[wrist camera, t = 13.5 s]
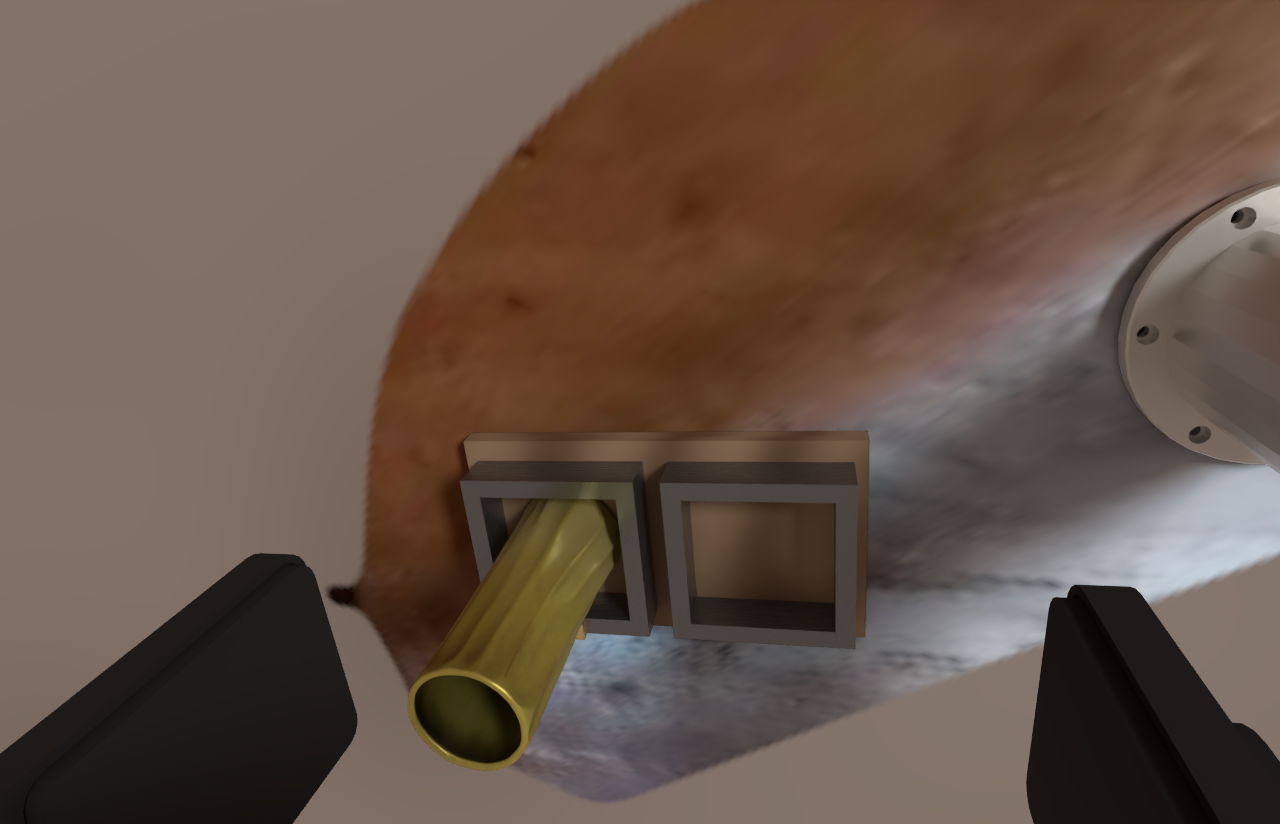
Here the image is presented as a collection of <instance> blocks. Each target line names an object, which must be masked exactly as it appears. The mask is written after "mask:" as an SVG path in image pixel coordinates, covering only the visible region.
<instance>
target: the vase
mask: <svg viewBox="0 0 1280 824" xmlns="http://www.w3.org/2000/svg"><path fill="white" fill-rule="evenodd" d="M621 552H622V548H621V540H620V532H619V525H618V523H617V521H616V520H615V518H614V517H613V515H612V514H611V513H610V511H609V510H608V508H607V507H606V506H604V505H603V504H602V503H601V502H600V501H598V500H597V499H543V498H535V499H533V500H532V501H531V502H530V503H529V504H528V505H527V507H526V509H525V511H524V513H523V515H522V518H521V520H520V521H519V523H518V525H517V526H516V528H515V530H514V531H513V533H512V535H511V536H510V538H509V539H508V541H507V542H506V544H505V545H504V547H503V549H502V550H501V552H500V554H499V555H498V557H497V558H496V560H495V562H494V563H493V565H492V566H491V568H490V570H489V571H488V573H487V574H486V576H485V577H484V579H483V580H482V582H481V583H480V585H479V586H478V588H477V589H476V591H475V592H474V594H473V595H472V597H471V598H470V600H469V602H468V603H467V605H466V606H465V608H464V609H463V611H462V613H461V614H460V616H459V617H458V619H457V620H456V622H455V624H454V625H453V627H452V628H451V630H450V631H449V633H448V634H447V636H446V637H445V639H444V640H443V642H442V643H441V644H440V646H439V647H438V649H437V650H436V652H435V653H434V655H433V656H432V658H431V659H430V660H429V662H428V663H427V665H426V666H425V668H424V669H423V670H422V672H421V673H420V675H419V676H418V678H417V679H416V681H415V682H414V684H413V686H412V688H411V690H410V692H409V696H408V714H409V718H410V720H411V723H412V725H413V727H414V729H415V730H416V732H417V733H418V735H419V736H420V737H421V738H422V740H423V741H424V742H425V743H426V744H427V745H428V746H429V747H430V748H431V749H432V750H433V751H435V752H436V753H437V754H439V755H440V756H441V757H443V758H444V759H446V760H447V761H449V762H452V763H454V764H456V765H459V766H462V767H466V768H470V769H475V770H482V771H492V770H499V769H502V768H505V767H507V766H510V765H511V764H513V763H514V762H515V761H516V760H517V759H518V758H519V757H520V756H521V755H522V754H523V752H524V751H525V749H526V748H527V747H528V745H529V743H530V741H531V739H532V737H533V736H534V733H535V731H536V729H537V726H538V724H539V721H540V719H541V717H542V714H543V712H544V710H545V708H546V705H547V703H548V701H549V698H550V696H551V694H552V691H553V689H554V687H555V685H556V682H557V680H558V678H559V676H560V674H561V671H562V669H563V667H564V665H565V662H566V660H567V658H568V656H569V653H570V651H571V649H572V646H573V644H574V641H575V639H576V636H577V633H578V631H579V629H580V627H581V625H582V623H583V621H584V619H585V617H586V615H587V613H588V611H589V609H590V607H591V606H592V603H593V601H594V599H595V597H596V595H597V593H598V591H599V589H600V588H601V586H602V585H603V583H604V581H605V580H606V578H607V576H608V575H609V573H610V571H611V570H612V569H613V568H614V566H615V565H616V564H617V562H618V561H619V559H620V556H621Z"/></svg>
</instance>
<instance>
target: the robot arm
mask: <svg viewBox="0 0 1280 824" xmlns="http://www.w3.org/2000/svg"><path fill="white" fill-rule="evenodd" d="M1236 211H1238V216H1237V218H1236V219H1235V220H1234V221H1231V218H1232V216H1233V214H1234V213H1235V212H1236ZM1143 326H1145V330H1144V332H1142V333H1141V334H1138V335H1136V334H1137V332H1138V330H1139V329H1141V328H1142V327H1143ZM1118 361H1119V365H1120V369H1121V373H1122V377H1123V381H1124V385H1125V386H1126V388H1127V390H1128V392H1129V394H1130V396H1131V398H1132V399H1133V401H1134V403H1135V405H1136V406H1137V407H1138V409H1139V410H1140V411H1141V412H1142V413H1143V414H1144V415H1145V416H1146V417H1147V419H1148V420H1149V421H1150V422H1151V423H1152V424H1153V425H1155V426H1156V427H1157V428H1158V429H1159V430H1161V431H1162V432H1163V433H1164V434H1165V435H1167V436H1168V437H1169V438H1170V439H1172V440H1174V441H1175V442H1177V443H1179V444H1180V445H1182V446H1184V447H1185V448H1187V449H1189V450H1192V451H1194V452H1197V453H1200V454H1203V455H1206V456H1209V457H1212V458H1215V459H1218V460H1224V461H1230V462H1236V463H1243V464H1267V465H1268V466H1270V467H1271V468H1273V469H1274V470H1275V471H1277V472H1278V473H1279V474H1280V178H1279V179H1274V180H1270V181H1266V182H1263V183H1261V184H1258V185H1256V186H1253V187H1251V188H1248V189H1246V190H1243V191H1241V192H1238V193H1236V194H1233V195H1231V196H1229V197H1228V198H1226V199H1224V200H1223V201H1221V202H1219V203H1217V204H1216V205H1214V206H1212V207H1210V208H1209V209H1207V210H1205V211H1203V212H1202V213H1200V214H1199V215H1198V216H1196V217H1195V218H1194V219H1193V220H1191V221H1190V222H1189V223H1188V224H1186V225H1185V226H1184V227H1183V228H1181V229H1180V230H1179V231H1178V232H1176V233H1175V234H1174V235H1173V236H1172V237H1171V238H1170V239H1169V240H1168V241H1167V242H1166V243H1165V245H1164V246H1163V247H1162V248H1161V249H1160V250H1159V251H1158V252H1157V253H1156V254H1155V255H1154V256H1153V257H1152V259H1151V260H1150V262H1149V263H1148V265H1147V266H1146V268H1145V269H1144V271H1143V272H1142V274H1141V275H1140V277H1139V278H1138V280H1137V281H1136V283H1135V284H1134V287H1133V289H1132V291H1131V294H1130V296H1129V298H1128V301H1127V303H1126V306H1125V308H1124V310H1123V315H1122V320H1121V325H1120V329H1119V334H1118ZM1193 428H1195V429H1194V430H1192V429H1193ZM1191 430H1192V431H1191ZM356 728H357V713H356V709H355V706H354V703H353V700H352V697H351V693H350V690H349V686H348V683H347V680H346V677H345V673H344V670H343V667H342V663H341V660H340V657H339V653H338V650H337V647H336V644H335V640H334V637H333V634H332V631H331V627H330V624H329V621H328V617H327V614H326V611H325V607H324V604H323V601H322V598H321V594H320V591H319V588H318V584H317V581H316V578H315V575H314V573H313V571H312V570H311V569H310V568H309V567H307V566H306V565H305V563H304V561H303V560H302V559H301V558H300V557H299V556H296V555H289V554H288V555H287V554H262V553H260V554H253V555H252V556H250V557H248V558H246V559H245V560H244V561H243V562H242V563H240V564H239V565H238V566H236V567H235V568H234V569H233V570H231V571H230V572H229V573H228V574H226V575H225V576H224V577H222V578H221V579H220V580H219V581H217V582H216V583H215V584H214V585H212V586H211V587H210V588H209V589H207V590H206V591H205V592H204V593H202V594H201V595H200V596H199V597H197V598H196V599H195V600H193V601H192V602H191V603H190V604H188V605H187V606H186V607H185V608H183V609H182V610H181V611H180V612H178V613H177V614H176V615H175V616H173V617H172V618H171V619H170V620H168V621H167V622H166V623H164V624H163V625H162V626H161V627H159V628H158V629H157V630H156V631H154V632H153V633H152V634H151V635H149V636H148V637H147V638H146V639H144V640H143V641H142V642H141V643H139V644H138V645H137V646H136V647H134V648H133V649H132V650H131V651H129V652H128V653H127V654H125V655H124V656H123V657H122V658H120V659H119V660H118V661H117V662H115V663H114V664H113V665H111V666H110V667H109V668H108V669H106V670H105V671H104V672H103V673H101V674H100V675H99V676H98V677H97V678H95V679H94V680H93V681H91V682H90V683H89V684H88V685H86V686H85V687H84V688H82V689H81V690H80V691H79V692H77V693H76V694H75V695H74V696H72V697H71V698H70V699H69V700H67V701H66V702H65V703H64V704H62V705H61V706H60V707H59V708H57V709H56V710H55V711H54V712H52V713H51V714H50V715H48V716H47V717H46V718H45V719H44V720H42V721H41V722H40V723H38V724H37V725H36V726H35V727H33V728H32V729H31V730H30V731H28V732H27V733H26V734H25V735H23V736H22V737H21V738H20V739H18V740H17V741H16V742H14V743H13V744H12V745H11V746H9V747H8V748H7V749H6V750H4V751H3V752H2V753H1V754H0V824H293V822H294V821H295V820H296V818H297V817H298V816H299V814H300V813H301V811H302V810H303V809H304V807H305V806H306V804H307V803H308V802H309V800H310V799H311V797H312V796H313V795H314V793H315V792H316V791H317V789H318V788H319V787H320V785H321V784H322V782H323V781H324V780H325V778H326V777H327V775H328V774H329V773H330V771H331V770H332V769H333V767H334V766H335V764H336V763H337V761H338V760H339V759H340V757H341V756H342V755H343V753H344V752H345V751H346V749H347V748H348V746H349V745H350V743H351V742H352V740H353V737H354V735H355V733H356ZM1026 784H1027V797H1028V804H1029V809H1030V813H1031V816H1032V819H1033V822H1034V824H1280V761H1279V760H1278V759H1277V757H1276V756H1275V755H1274V753H1273V752H1272V751H1271V750H1270V748H1269V747H1268V745H1267V744H1266V743H1265V742H1264V741H1263V740H1262V739H1261V738H1260V736H1259V735H1258V734H1257V733H1256V732H1255V731H1254V730H1252V729H1250V728H1249V727H1247V726H1245V725H1243V724H1242V723H1232V722H1231V721H1230V719H1229V718H1228V717H1227V715H1226V714H1225V712H1224V711H1223V709H1222V708H1221V707H1220V705H1219V704H1218V702H1217V701H1216V700H1215V698H1214V697H1213V695H1212V694H1211V693H1210V691H1209V690H1208V688H1207V687H1206V685H1205V684H1204V683H1203V681H1202V680H1201V678H1200V677H1199V675H1198V674H1197V673H1196V671H1195V670H1194V668H1193V667H1192V666H1191V664H1190V663H1189V661H1188V660H1187V658H1186V657H1185V656H1184V654H1183V653H1182V652H1181V650H1180V649H1179V647H1178V646H1177V645H1176V643H1175V642H1174V640H1173V639H1172V637H1171V636H1170V634H1169V633H1168V632H1167V630H1166V629H1165V627H1164V626H1163V625H1162V623H1161V622H1160V620H1159V619H1158V618H1157V616H1156V615H1155V613H1154V612H1153V610H1152V609H1151V608H1150V606H1149V605H1148V603H1147V602H1146V601H1145V599H1144V598H1143V596H1142V595H1141V594H1140V593H1139V592H1138V591H1137V590H1136V589H1135V588H1132V587H1121V586H1095V585H1074V586H1072V587H1071V588H1070V590H1069V592H1068V596H1067V598H1058V597H1055V598H1053V599H1052V601H1051V603H1050V607H1049V612H1048V620H1047V627H1046V635H1045V643H1044V651H1043V658H1042V666H1041V673H1040V681H1039V688H1038V695H1037V703H1036V710H1035V718H1034V726H1033V733H1032V741H1031V748H1030V756H1029V763H1028V771H1027V782H1026Z"/></svg>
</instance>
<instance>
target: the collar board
mask: <svg viewBox="0 0 1280 824" xmlns="http://www.w3.org/2000/svg"><path fill="white" fill-rule="evenodd" d="M463 442H464V447H465V452H466V457H467V462H468V467H469V470H470V469H471V468H472V467H473V466H474V465H475V464H476V463H477V462H478V461H643V471H644V481H645V490H646V500H647V510H648V520H649V529H650V539H651V549H652V558H653V568H654V578H655V587H656V597H657V607H658V610H657V613H656V616H655V620H654V623H653V625H658V626H673V620H672V609H671V599H670V588H669V578H668V567H667V557H666V546H665V535H664V525H663V514H662V504H661V493H660V480H661V478H662V475H663V473H664V470H665V468H666V465H667V463H668V461H687V462H855V468H856V475H857V482H858V514H857V576H856V637H865V622H866V577H867V532H868V487H869V442H870V440H869V435H868V431H757V432H572V433H472V434H471V435H470V436H469V437H467V438H466V439H465V440H464V441H463ZM533 499H535V498H502V503H503V508H504V514H505V519H506V525H507V530H508V535H509V538H510V536H511V535H512V533H513V531H514V530H515V528H516V526H517V525H518V523H519V521H520V520H521V518H522V515H523V513H524V511H525V509H526V507H527V505H528V504H529V503H530V502H531V501H532V500H533ZM597 500H598V501H600V502H601V503H602V504H603V505H604V506H606V507H607V508H608V510H609V511H610V513H611V514H612V515H613V517H614V518H615V520H616V521H617V523H618V515H617V507H616V500H603V499H597ZM690 513H691V526H692V539H693V551H694V564H695V577H696V589H697V597H719V598H740V599H761V600H783V601H804V602H825V603H834V503H785V502H724V501H690ZM618 525H619V523H618ZM598 592H612V593H627V590H626V581H625V573H624V565H623V557H622V552H621V556H620V559H619V561H618V562H617V564H616V565H615V566H614V568H613V569H612V570H611V571H610V573H609V575H608V576H607V578H606V580H605V581H604V583H603V585H602V586H601V588H600V589H599V591H598Z"/></svg>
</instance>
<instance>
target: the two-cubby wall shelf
mask: <svg viewBox="0 0 1280 824" xmlns="http://www.w3.org/2000/svg"><path fill="white" fill-rule="evenodd" d="M460 486H461V491H462V496H463V500H464V505H465V510H466V515H467V520H468V525H469V529H470V534H471V539H472V544H473V549H474V554H475V558H476V563H477V568H478V573H479V578H480V583H481V582H482V580H483V579H484V577H485V576H486V574H487V573H488V571H489V570H490V568H491V566H492V565H493V563H494V562H495V560H496V558H497V557H498V555H499V554H500V552H501V550H502V549H503V547H504V545H505V544H506V542H507V541H508V539H509V535H508V530H507V525H506V519H505V514H504V508H503V503H502V498H543V499H603V500H616V507H617V515H618V523H619V532H620V540H621V548H622V557H623V565H624V573H625V581H626V590H627V593H612V592H598V593H597V595H596V597H595V599H594V601H593V603H592V606H591V607H590V609H589V611H588V613H587V615H586V617H585V619H584V621H583V623H582V625H581V627H580V629H579V631H578V633H577V636H576V639H579V640H585V638H586V635H587V633H598V634H614V635H631V636H647V637H650V633H651V630H652V626H653V623H654V620H655V616H656V613H657V610H658V607H657V597H656V587H655V578H654V568H653V558H652V549H651V539H650V529H649V520H648V510H647V500H646V490H645V481H644V471H643V461H478V462H477V463H476V464H475V465H474V466H473V467H472V468H471V469H470V470H469V471H468V472H467V473H466V474H465V475H464V476H463V478H462V479H461V480H460ZM660 493H661V504H662V514H663V525H664V535H665V546H666V557H667V567H668V578H669V588H670V599H671V609H672V620H673V630H674V638H681V639H697V640H714V641H730V642H747V643H763V644H780V645H796V646H813V647H829V648H846V649H855V637H856V576H857V514H858V482H857V475H856V468H855V462H687V461H668V463H667V465H666V468H665V470H664V473H663V475H662V478H661V480H660ZM690 501H724V502H785V503H834V603H825V602H804V601H783V600H761V599H740V598H719V597H697V589H696V577H695V564H694V551H693V539H692V526H691V513H690Z"/></svg>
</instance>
